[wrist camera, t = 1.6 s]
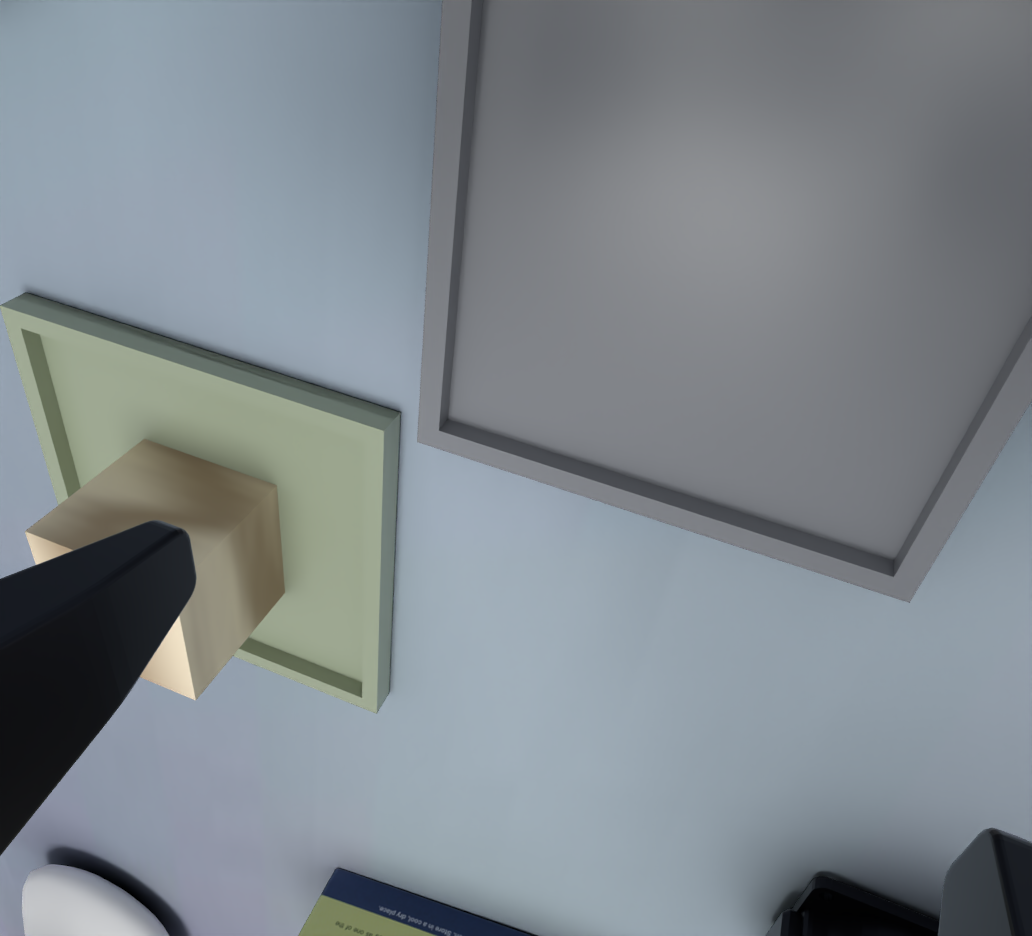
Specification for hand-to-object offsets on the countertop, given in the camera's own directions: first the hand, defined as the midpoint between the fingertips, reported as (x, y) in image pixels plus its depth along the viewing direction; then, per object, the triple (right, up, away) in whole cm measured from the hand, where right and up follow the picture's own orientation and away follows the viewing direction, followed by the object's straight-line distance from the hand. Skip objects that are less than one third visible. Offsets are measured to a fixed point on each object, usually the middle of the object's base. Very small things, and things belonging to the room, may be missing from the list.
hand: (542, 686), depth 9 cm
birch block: (-10, +1, +20) cm, 22 cm away
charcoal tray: (+4, +7, +9) cm, 12 cm away
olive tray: (-10, +1, +20) cm, 23 cm away
